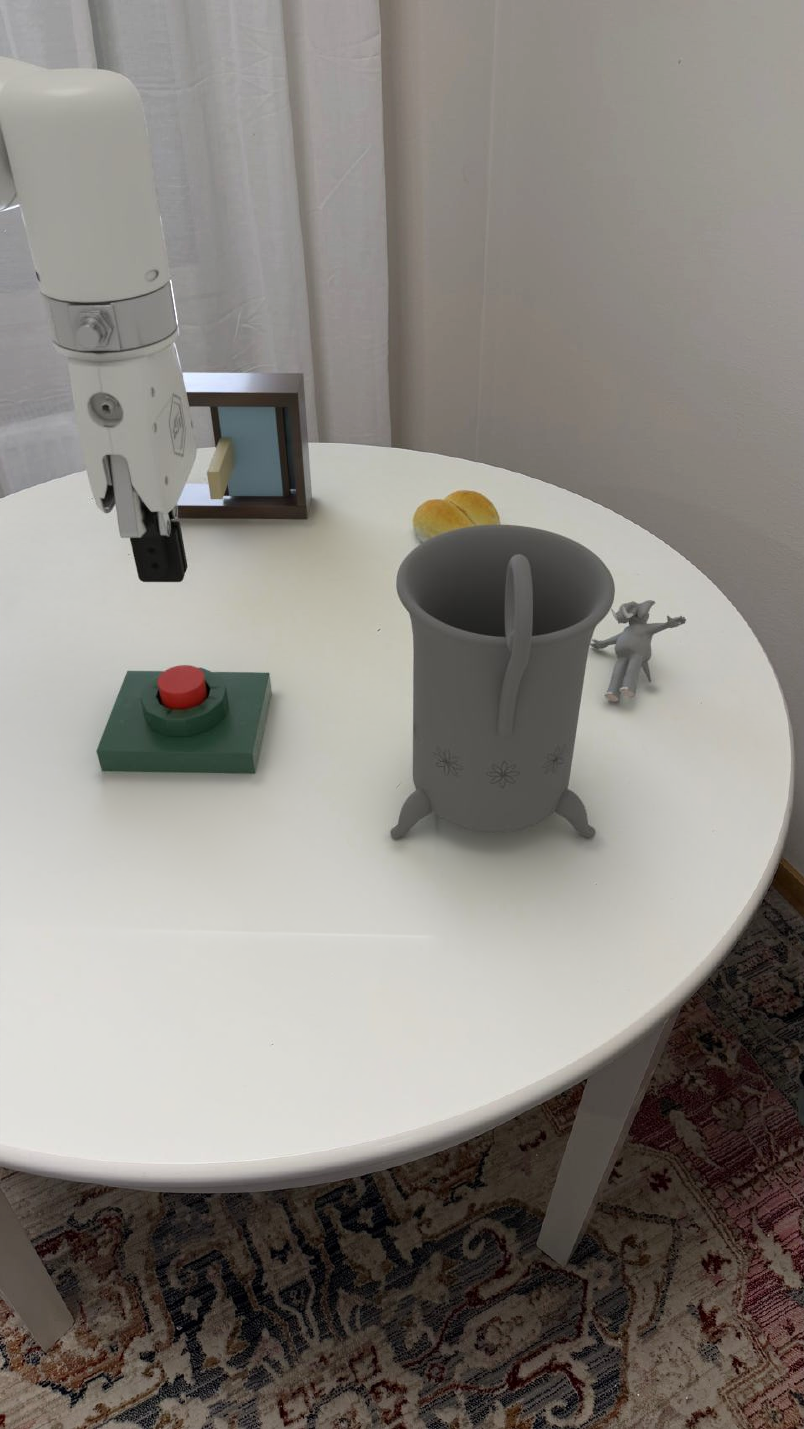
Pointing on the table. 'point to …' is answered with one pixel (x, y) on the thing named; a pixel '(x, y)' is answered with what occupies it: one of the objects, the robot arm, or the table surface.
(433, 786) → the mug
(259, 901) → the table surface
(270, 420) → the window pane
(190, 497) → the window frame
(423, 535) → the bread roll
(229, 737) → the button box
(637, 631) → the elephant figurine
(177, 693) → the button
